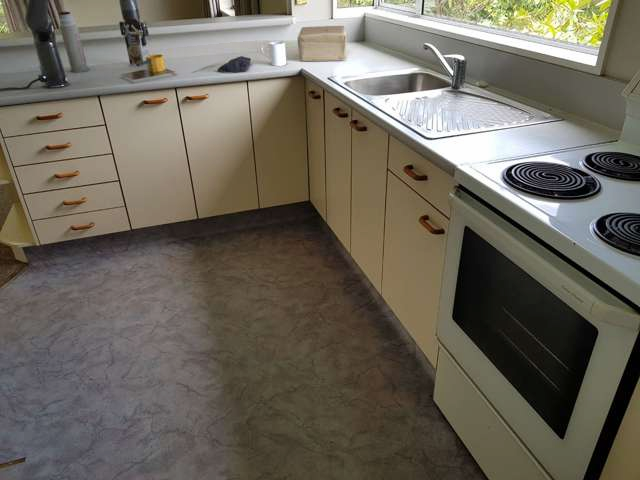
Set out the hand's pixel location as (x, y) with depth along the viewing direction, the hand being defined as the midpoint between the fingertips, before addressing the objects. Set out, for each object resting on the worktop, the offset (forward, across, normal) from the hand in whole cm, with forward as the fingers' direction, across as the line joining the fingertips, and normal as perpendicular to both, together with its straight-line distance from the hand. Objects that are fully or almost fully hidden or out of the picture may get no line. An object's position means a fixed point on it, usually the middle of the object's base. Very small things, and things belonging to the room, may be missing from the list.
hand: (137, 45), depth 240 cm
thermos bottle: (+15, -43, +2) cm, 46 cm away
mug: (+16, +48, +45) cm, 68 cm away
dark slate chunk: (+15, +33, +32) cm, 49 cm away
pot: (+13, 0, +6) cm, 15 cm away
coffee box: (+15, -20, +21) cm, 33 cm away
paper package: (+16, +66, +70) cm, 97 cm away
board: (+15, 0, +3) cm, 15 cm away
